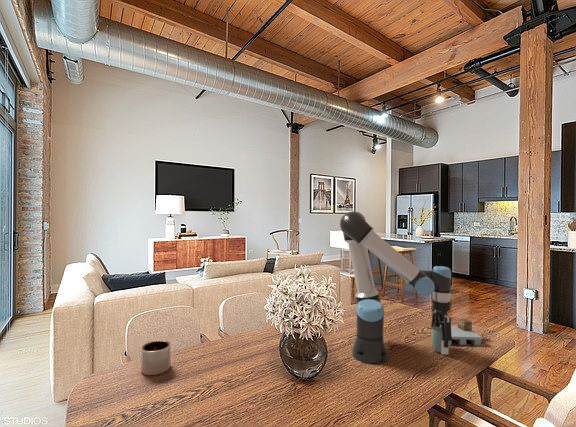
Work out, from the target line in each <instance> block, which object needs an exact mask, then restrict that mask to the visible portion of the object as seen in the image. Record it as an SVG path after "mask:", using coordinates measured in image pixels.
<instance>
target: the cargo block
mask: <svg viewBox="0 0 576 427" xmlns="http://www.w3.org/2000/svg"><path fill="white" fill-rule="evenodd" d="M457 326H458V328H459V329H461V330H463V331H473V322H472V320H469V319H468V318H458V319H457Z"/></svg>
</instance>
